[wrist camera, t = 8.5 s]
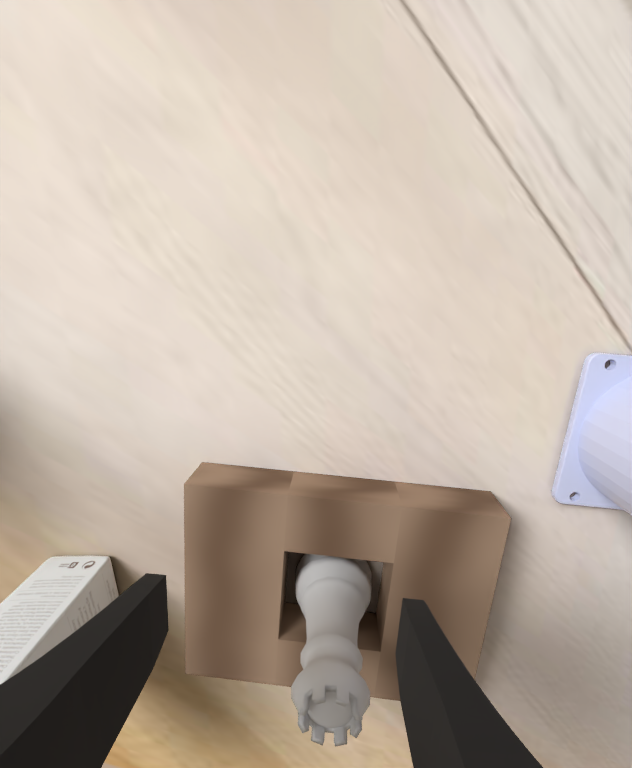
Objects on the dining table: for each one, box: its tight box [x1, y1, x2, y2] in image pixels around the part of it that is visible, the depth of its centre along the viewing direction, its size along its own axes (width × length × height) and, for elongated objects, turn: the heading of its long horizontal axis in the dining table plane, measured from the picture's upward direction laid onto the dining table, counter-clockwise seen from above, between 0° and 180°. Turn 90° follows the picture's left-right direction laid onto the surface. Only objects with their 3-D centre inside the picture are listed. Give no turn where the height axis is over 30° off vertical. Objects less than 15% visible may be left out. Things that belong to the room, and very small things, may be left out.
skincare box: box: [0, 555, 119, 684], centre depth 18 cm, size 6×4×12 cm
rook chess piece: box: [291, 554, 372, 746], centre depth 18 cm, size 4×4×8 cm
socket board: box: [184, 462, 511, 701], centre depth 21 cm, size 16×12×2 cm
